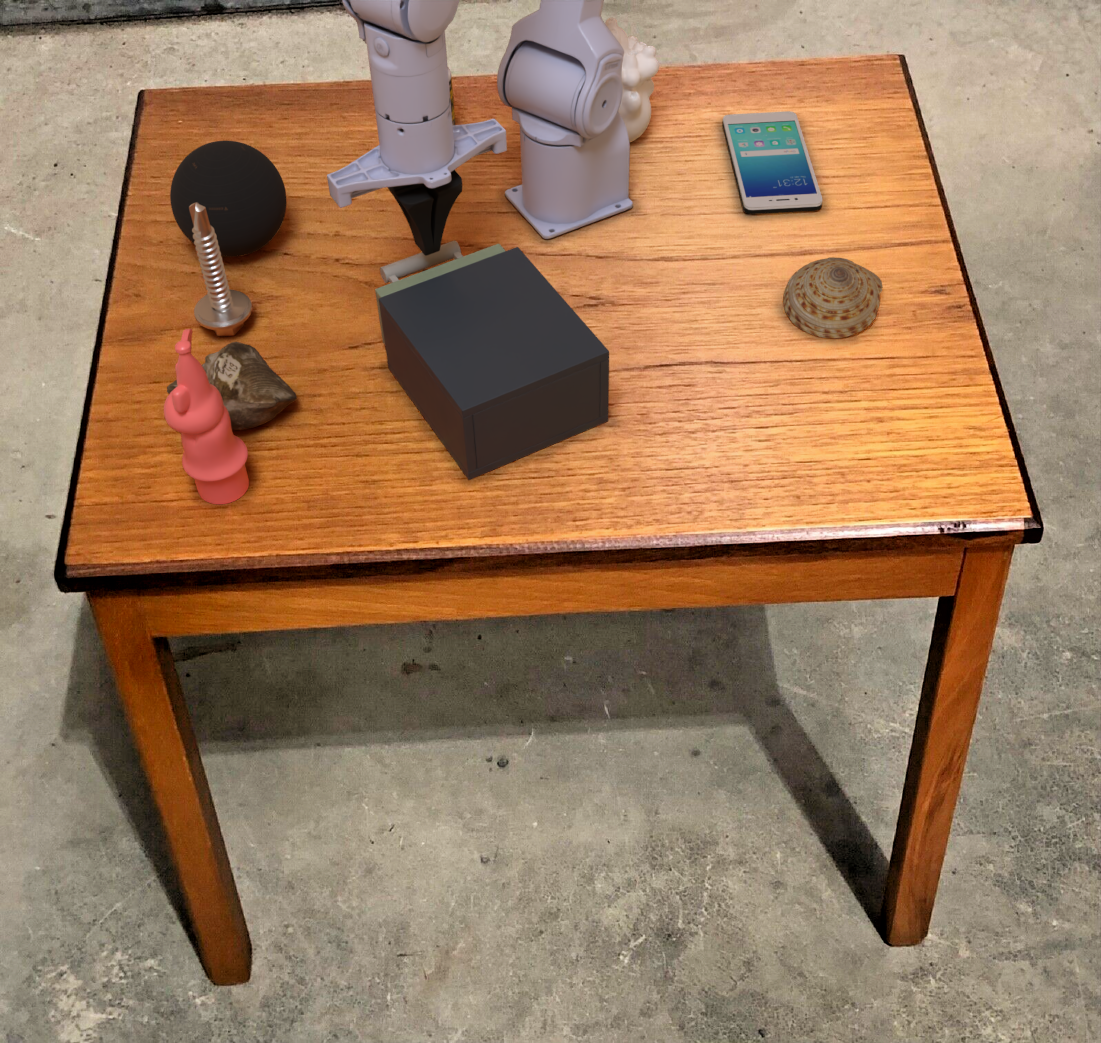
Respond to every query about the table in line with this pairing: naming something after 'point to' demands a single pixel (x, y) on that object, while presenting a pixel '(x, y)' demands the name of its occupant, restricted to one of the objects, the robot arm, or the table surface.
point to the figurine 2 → (635, 80)
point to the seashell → (832, 297)
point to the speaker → (230, 195)
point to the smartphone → (771, 163)
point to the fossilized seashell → (246, 385)
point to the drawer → (423, 262)
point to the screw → (216, 282)
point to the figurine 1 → (205, 431)
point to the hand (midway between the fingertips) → (427, 246)
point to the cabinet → (495, 361)
